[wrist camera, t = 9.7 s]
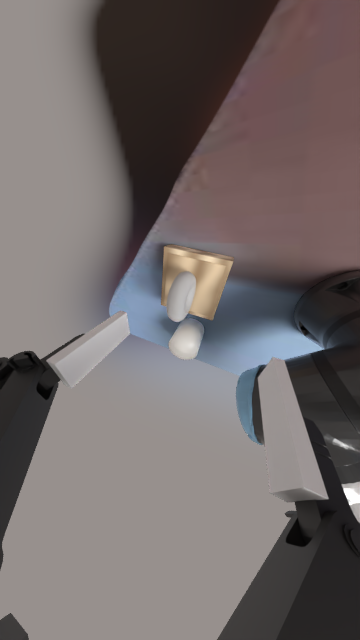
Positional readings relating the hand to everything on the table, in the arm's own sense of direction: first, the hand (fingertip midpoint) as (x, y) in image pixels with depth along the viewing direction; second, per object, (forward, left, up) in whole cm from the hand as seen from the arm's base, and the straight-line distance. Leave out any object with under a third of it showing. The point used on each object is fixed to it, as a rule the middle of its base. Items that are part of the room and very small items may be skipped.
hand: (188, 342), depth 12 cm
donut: (+5, +4, -20) cm, 21 cm away
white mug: (+3, +20, -24) cm, 31 cm away
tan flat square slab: (+5, +4, -24) cm, 25 cm away
